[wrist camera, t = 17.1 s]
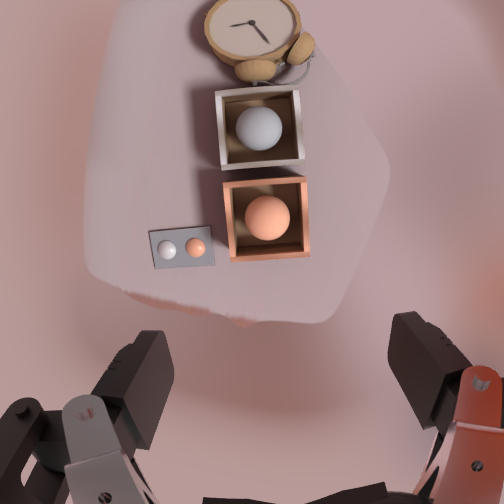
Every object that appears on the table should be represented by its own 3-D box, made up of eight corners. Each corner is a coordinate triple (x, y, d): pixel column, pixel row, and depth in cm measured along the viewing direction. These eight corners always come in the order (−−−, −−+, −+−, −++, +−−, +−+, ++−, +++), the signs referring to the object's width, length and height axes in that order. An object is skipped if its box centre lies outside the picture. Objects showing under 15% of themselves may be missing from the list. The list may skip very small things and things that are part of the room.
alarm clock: (266, -23, 25) (340, 53, 26) (269, -2, 30) (334, 71, 30) (186, 14, 27) (249, 97, 27) (197, 33, 32) (255, 112, 32)
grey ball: (237, 112, 33) (230, 104, 28) (279, 108, 32) (280, 100, 27) (240, 153, 34) (234, 151, 29) (283, 149, 34) (284, 147, 29)
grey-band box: (220, 100, 32) (214, 91, 28) (293, 94, 32) (297, 84, 28) (226, 169, 35) (221, 170, 30) (299, 164, 34) (305, 164, 30)
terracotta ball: (244, 194, 35) (241, 200, 30) (286, 191, 35) (290, 196, 30) (247, 235, 37) (245, 247, 32) (289, 232, 36) (293, 243, 32)
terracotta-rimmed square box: (227, 180, 35) (222, 182, 31) (300, 175, 35) (306, 176, 30) (234, 250, 38) (230, 262, 33) (304, 245, 37) (309, 256, 33)
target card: (150, 231, 37) (148, 232, 37) (210, 226, 37) (209, 226, 36) (156, 268, 39) (155, 269, 38) (214, 264, 38) (214, 265, 38)
